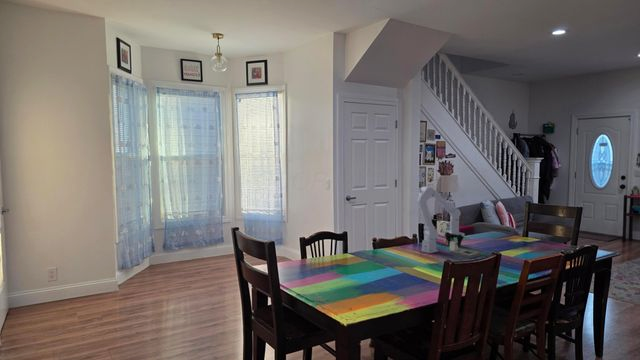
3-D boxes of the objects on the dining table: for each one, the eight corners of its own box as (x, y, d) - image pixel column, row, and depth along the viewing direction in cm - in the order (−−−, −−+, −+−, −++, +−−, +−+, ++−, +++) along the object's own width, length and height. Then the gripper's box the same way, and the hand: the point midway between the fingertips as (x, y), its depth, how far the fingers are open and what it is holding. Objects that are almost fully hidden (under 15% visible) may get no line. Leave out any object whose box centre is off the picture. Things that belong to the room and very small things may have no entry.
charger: (454, 251, 281) (454, 242, 280) (449, 250, 284) (449, 241, 283) (458, 250, 283) (458, 241, 282) (453, 249, 286) (453, 240, 286)
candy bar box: (451, 244, 299) (452, 222, 297) (446, 245, 297) (447, 223, 295) (441, 241, 309) (441, 220, 307) (436, 242, 307) (436, 220, 305)
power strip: (469, 258, 262) (469, 254, 261) (450, 254, 273) (450, 250, 272) (480, 255, 269) (480, 251, 269) (461, 251, 280) (461, 247, 280)
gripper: (467, 226, 279) (466, 246, 280) (448, 223, 290) (448, 242, 291) (461, 227, 274) (460, 247, 275) (442, 224, 286) (442, 243, 287)
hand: (454, 245), depth 283 cm, fingers open, 7 cm apart
